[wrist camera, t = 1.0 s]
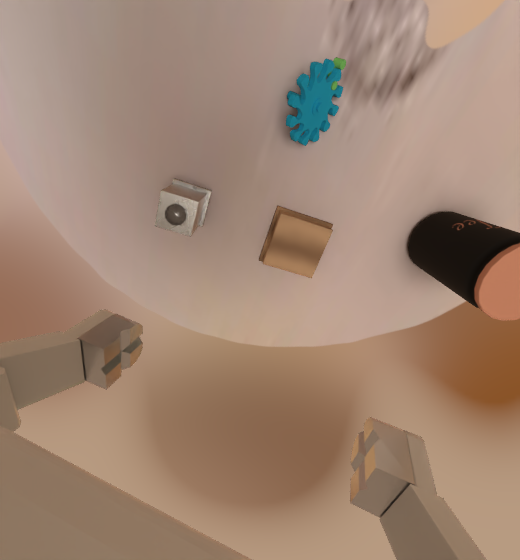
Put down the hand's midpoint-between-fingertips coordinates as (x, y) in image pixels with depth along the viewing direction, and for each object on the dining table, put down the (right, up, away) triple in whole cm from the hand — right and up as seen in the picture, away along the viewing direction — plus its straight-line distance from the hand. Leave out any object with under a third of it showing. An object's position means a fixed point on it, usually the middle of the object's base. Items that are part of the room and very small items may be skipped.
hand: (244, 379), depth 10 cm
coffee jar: (+32, +11, +41) cm, 53 cm away
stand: (+7, +10, +40) cm, 42 cm away
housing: (-11, +16, +37) cm, 42 cm away
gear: (+8, +29, +32) cm, 44 cm away
